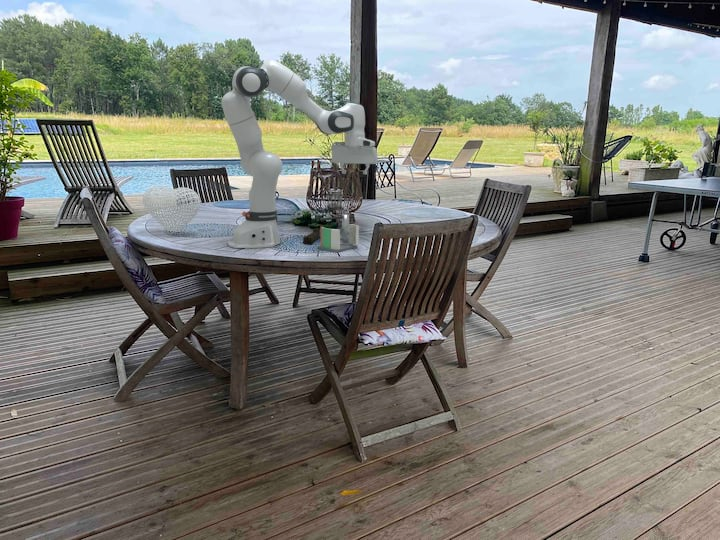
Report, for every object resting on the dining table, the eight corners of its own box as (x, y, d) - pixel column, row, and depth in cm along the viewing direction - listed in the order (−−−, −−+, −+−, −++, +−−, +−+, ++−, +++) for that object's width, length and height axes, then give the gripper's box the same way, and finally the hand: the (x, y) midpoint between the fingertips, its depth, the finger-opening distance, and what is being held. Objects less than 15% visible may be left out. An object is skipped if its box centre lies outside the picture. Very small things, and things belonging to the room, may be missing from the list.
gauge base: (340, 243, 222) (340, 222, 219) (360, 246, 215) (360, 225, 213) (317, 248, 210) (316, 227, 208) (336, 252, 204) (336, 230, 201)
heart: (209, 234, 238) (206, 186, 232) (185, 240, 224) (181, 189, 218) (164, 229, 249) (160, 183, 243) (139, 234, 235) (134, 186, 229)
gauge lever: (346, 240, 217) (346, 214, 214) (360, 244, 211) (360, 216, 208) (318, 245, 208) (318, 217, 205) (332, 249, 201) (332, 220, 198)
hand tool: (311, 245, 218) (311, 235, 216) (302, 245, 219) (302, 234, 217) (324, 237, 235) (324, 227, 234) (316, 236, 236) (316, 227, 235)
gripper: (329, 141, 220) (329, 174, 223) (376, 142, 216) (375, 175, 219) (333, 141, 226) (333, 173, 229) (378, 142, 222) (378, 174, 225)
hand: (354, 174), depth 224 cm, fingers open, 8 cm apart
